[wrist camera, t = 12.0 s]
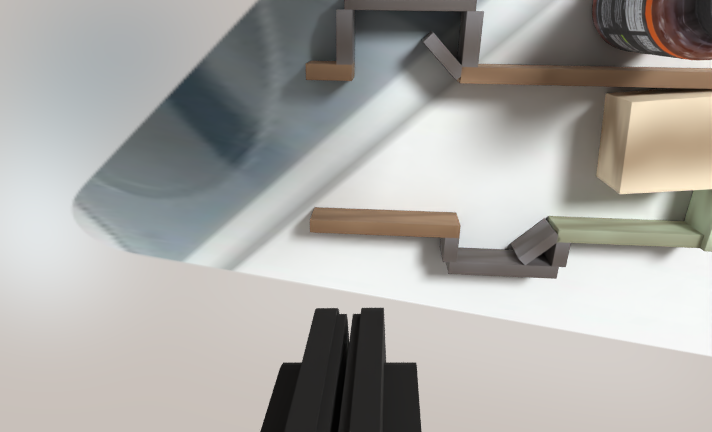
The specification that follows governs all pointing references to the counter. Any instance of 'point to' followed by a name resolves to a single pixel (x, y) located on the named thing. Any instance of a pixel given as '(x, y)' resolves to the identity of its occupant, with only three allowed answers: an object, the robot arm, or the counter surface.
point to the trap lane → (547, 238)
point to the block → (656, 141)
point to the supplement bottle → (657, 26)
